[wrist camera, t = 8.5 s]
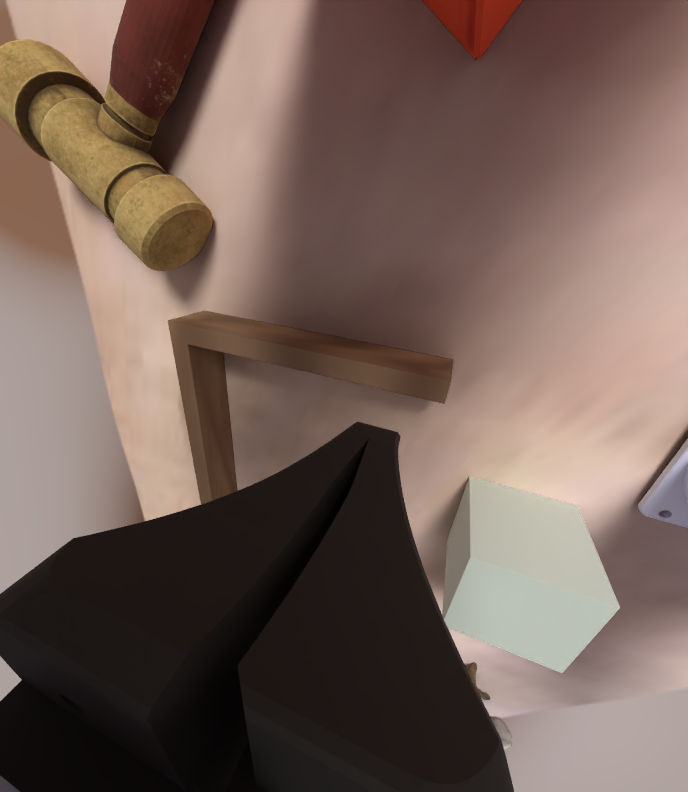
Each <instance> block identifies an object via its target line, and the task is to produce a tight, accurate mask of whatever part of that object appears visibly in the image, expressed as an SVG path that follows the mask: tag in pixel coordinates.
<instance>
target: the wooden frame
mask: <svg viewBox="0 0 688 792" xmlns="http://www.w3.org/2000/svg"><path fill="white" fill-rule="evenodd" d="M168 324H169V330H170V335H171V341H172V346H173V352H174V357H175V363H176V368H177V374H178V379H179V385H180V390H181V396H182V401H183V407H184V412H185V418H186V423H187V429H188V434H189V440H190V445H191V451H192V456H193V462H194V467H195V473H196V478H197V484H198V489H199V495H200V500H201V505H202V504H205V503H207V502H210V501H213V500H215V499H218V498H221V497H223V496H226V495H228V494H231V493H234V492H236V491H237V485H236V475H235V465H234V456H233V446H232V436H231V426H230V416H229V407H228V397H227V387H226V377H225V367H224V358H223V352H224V353H228V354H233V355H237V356H241V357H245V358H250V359H254V360H258V361H263V362H267V363H271V364H276V365H280V366H284V367H288V368H293V369H297V370H301V371H306V372H310V373H314V374H319V375H323V376H327V377H332V378H336V379H340V380H344V381H349V382H353V383H357V384H362V385H366V386H370V387H375V388H379V389H383V390H387V391H392V392H396V393H400V394H405V395H409V396H413V397H418V398H422V399H426V400H430V401H435V402H439V403H443V404H445V400H446V397H447V393H448V389H449V386H450V382H451V375H452V365H453V359H447V358H442V357H437V356H432V355H427V354H422V353H417V352H412V351H407V350H402V349H397V348H391V347H386V346H381V345H376V344H371V343H366V342H361V341H356V340H351V339H346V338H341V337H335V336H330V335H325V334H320V333H315V332H310V331H305V330H300V329H295V328H290V327H284V326H279V325H274V324H269V323H264V322H259V321H254V320H249V319H244V318H239V317H234V316H228V315H223V314H218V313H213V312H208V311H201V312H197V313H194V314H190V315H186V316H183V317H179V318H176V319H172V320H168Z"/></svg>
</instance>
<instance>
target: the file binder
mask: <svg viewBox="0 0 688 792" xmlns="http://www.w3.org/2000/svg"><path fill="white" fill-rule="evenodd" d="M423 2H424V3H425V4H426V5H427V6H428V7H429V8H430V9H431V11H432V12H433V13H434V14H435V15H436V16H437V17H438V18H439V20H440V21H441V22H442V23H443V24H444V25H445V26H446V27H447V28H448V30H449V31H450V32H451V33H452V34H453V35H454V36H455V37H456V39H457V40H458V41H459V42H460V43H461V44H462V45H463V46H464V47H465V49H466V50H467V51H468V52H469V53H470V54H471V55H472V56H473V58H474V59H475V60H476V59H477V58H478V59H480V58H481V56H482V55H483V54H484V52H485V51H486V50H487V48H488V47H489V45H490V44H491V43H492V41H493V40H494V39H495V37H496V36H497V34H498V33H499V32H500V30H501V29H502V28H503V26H504V25H505V23H506V22H507V21H508V19H509V18H510V17H511V15H512V14H513V13H514V11H515V10H516V8H517V7H518V6H519V4H520V3H521V2H522V0H423Z"/></svg>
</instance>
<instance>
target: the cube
mask: <svg viewBox="0 0 688 792" xmlns="http://www.w3.org/2000/svg"><path fill="white" fill-rule="evenodd" d="M619 609H620V606H619V603H618V601H617V599H616V596H615V594H614V591H613V589H612V587H611V584H610V582H609V579H608V577H607V575H606V572H605V570H604V567H603V565H602V562H601V560H600V558H599V555H598V553H597V550H596V548H595V546H594V543H593V541H592V538H591V536H590V533H589V531H588V529H587V526H586V524H585V521H584V519H583V517H582V514H581V512H580V509H579V507H578V505H574V504H570V503H567V502H563V501H559V500H556V499H552V498H548V497H545V496H541V495H537V494H534V493H530V492H526V491H523V490H519V489H515V488H512V487H508V486H504V485H501V484H497V483H493V482H490V481H486V480H483V479H479V478H475V477H472V476H469V479H468V482H467V485H466V488H465V490H464V493H463V496H462V499H461V502H460V505H459V507H458V510H457V513H456V516H455V519H454V522H453V525H452V527H451V530H450V533H449V536H448V539H447V552H446V567H445V583H444V598H443V613H442V616H443V619H444V621H445V623H446V626H447V627H448V628H450V629H453V630H455V631H458V632H460V633H463V634H465V635H468V636H470V637H473V638H475V639H478V640H480V641H483V642H485V643H488V644H490V645H492V646H495V647H497V648H500V649H502V650H505V651H507V652H510V653H512V654H515V655H517V656H520V657H522V658H525V659H527V660H530V661H532V662H535V663H537V664H540V665H542V666H545V667H547V668H550V669H552V670H555V671H557V672H560V673H563V672H564V671H565V670H566V668H567V667H568V666H569V665H570V664H571V663H572V662H573V661H574V659H575V658H576V657H577V656H578V655H579V654H580V653H581V651H582V650H583V649H584V648H585V647H586V646H587V645H588V644H589V642H590V641H591V640H592V639H593V638H594V637H595V636H596V635H597V633H598V632H599V631H600V630H601V629H602V628H603V627H604V626H605V624H606V623H607V622H608V621H609V620H610V619H611V618H612V617H613V615H614V614H615V613H616V612H617V611H618V610H619Z"/></svg>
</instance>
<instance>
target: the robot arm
mask: <svg viewBox="0 0 688 792" xmlns="http://www.w3.org/2000/svg"><path fill="white" fill-rule="evenodd" d="M399 441H400V435H399V434H398V432H394V431H391V430H387V429H383V428H379V427H375V426H372V425H368V424H364V423H360V422H357V423H355V424H353V425H352V426H350V427H349V428H348V429H346V430H345V431H344V432H342V433H341V434H339V435H338V436H337V437H335V438H334V439H332V440H331V441H329V442H328V443H326V444H325V445H323V446H322V447H320V448H319V449H317V450H316V451H314V452H313V453H311V454H310V455H308V456H306V457H305V458H303V459H301V460H299V461H298V462H296V463H294V464H293V465H291V466H289V467H287V468H286V469H284V470H282V471H280V472H278V473H276V474H274V475H272V476H270V477H268V478H266V479H264V480H262V481H260V482H258V483H256V484H253V485H251V486H249V487H246V488H244V489H241V490H239V491H236V492H234V493H231V494H228V495H226V496H223V497H221V498H218V499H215V500H213V501H210V502H207V503H205V504H202V505H199V506H196V507H192V508H189V509H186V510H183V511H180V512H177V513H173V514H170V515H166V516H163V517H160V518H156V519H152V520H149V521H145V522H141V523H137V524H133V525H129V526H125V527H121V528H117V529H113V530H108V531H104V532H100V533H96V534H92V535H87V536H82V537H78V538H73V539H72V540H71V541H69V542H68V543H67V544H65V545H64V546H63V547H61V548H60V549H59V550H57V551H56V552H55V553H53V554H52V555H51V556H50V557H48V558H47V559H46V560H44V561H43V562H42V563H40V564H39V565H38V566H36V567H35V568H34V569H32V570H31V571H30V572H29V573H27V574H26V575H25V576H23V577H22V578H21V579H19V580H18V581H17V582H15V583H14V584H13V585H12V586H10V587H9V588H8V589H6V590H5V591H4V592H2V593H1V594H0V656H1V657H2V658H3V659H4V660H5V662H6V663H7V664H8V665H9V666H10V667H11V668H12V669H13V671H14V672H15V673H16V674H17V675H18V676H19V677H20V678H21V679H22V681H21V682H20V683H19V684H18V685H17V686H16V687H14V689H12V690H11V692H10V693H8V694H7V696H6V697H4V698H3V700H1V701H0V792H514V789H513V785H512V781H511V777H510V772H509V768H508V764H507V759H506V756H505V752H504V748H503V744H502V740H501V738H500V736H499V734H498V732H497V730H496V727H495V726H494V724H493V722H492V720H491V718H490V716H489V714H488V712H487V710H486V708H485V706H484V704H483V702H482V700H481V698H480V696H479V694H478V692H477V690H476V688H475V686H474V684H473V682H472V680H471V677H470V675H469V673H468V671H467V669H466V667H465V665H464V663H463V661H462V659H461V657H460V654H459V652H458V650H457V648H456V646H455V643H454V641H453V639H452V637H451V634H450V632H449V630H448V628H447V626H446V623H445V621H444V619H443V616H442V614H441V611H440V609H439V606H438V604H437V601H436V599H435V596H434V594H433V591H432V589H431V586H430V584H429V581H428V579H427V576H426V574H425V571H424V568H423V566H422V563H421V560H420V557H419V554H418V551H417V548H416V545H415V541H414V538H413V535H412V531H411V528H410V524H409V520H408V516H407V512H406V508H405V503H404V498H403V493H402V488H401V481H400V473H399V464H398V445H399ZM638 508H639V510H640V512H641V513H642V514H643V515H644V516H646V517H649V518H653V519H657V520H660V521H664V522H667V523H671V524H675V525H678V526H682V527H685V528H688V439H687V440H686V442H685V443H684V444H683V446H682V447H681V448H680V450H679V451H678V452H677V453H676V455H675V456H674V457H673V459H672V460H671V461H670V463H669V464H668V465H667V467H666V468H665V469H664V471H663V472H662V473H661V475H660V476H659V477H658V479H657V480H656V481H655V483H654V484H653V485H652V487H651V488H650V489H649V491H648V492H647V493H646V495H645V496H644V497H643V499H642V500H641V501H640V503H639V505H638ZM663 510H667V511H665V512H662V513H661V512H660V511H663Z"/></svg>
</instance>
